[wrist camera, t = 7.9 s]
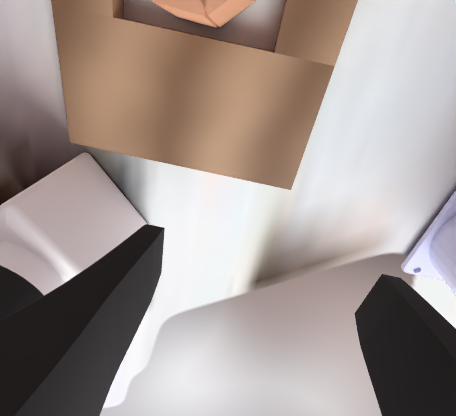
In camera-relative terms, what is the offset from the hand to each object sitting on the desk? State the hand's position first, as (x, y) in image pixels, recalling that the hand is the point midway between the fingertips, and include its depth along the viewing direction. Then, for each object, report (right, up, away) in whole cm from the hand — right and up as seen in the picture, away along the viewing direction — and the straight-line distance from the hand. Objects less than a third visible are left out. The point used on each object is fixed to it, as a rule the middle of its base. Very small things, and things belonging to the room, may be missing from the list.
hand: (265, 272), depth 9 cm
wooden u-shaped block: (-3, +10, +6) cm, 12 cm away
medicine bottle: (-12, +2, +12) cm, 17 cm away
